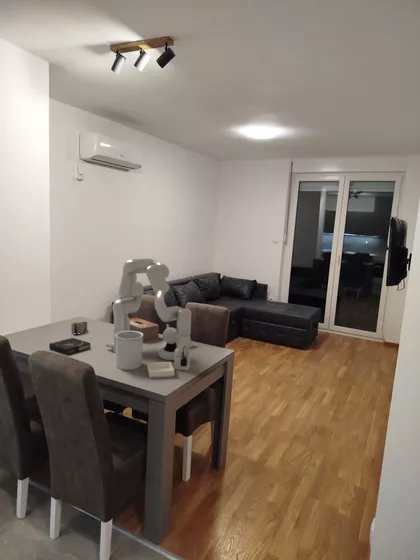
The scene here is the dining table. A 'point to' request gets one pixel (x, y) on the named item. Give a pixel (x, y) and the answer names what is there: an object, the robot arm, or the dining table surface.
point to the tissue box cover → (145, 329)
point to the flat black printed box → (69, 346)
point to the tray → (160, 369)
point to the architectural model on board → (79, 327)
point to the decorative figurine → (169, 344)
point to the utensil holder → (129, 349)
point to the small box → (178, 361)
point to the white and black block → (189, 342)
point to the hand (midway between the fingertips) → (182, 363)
